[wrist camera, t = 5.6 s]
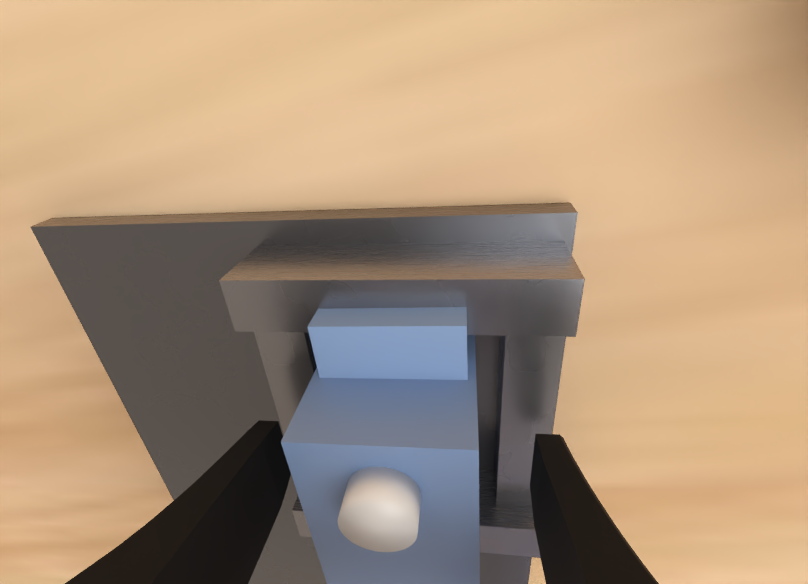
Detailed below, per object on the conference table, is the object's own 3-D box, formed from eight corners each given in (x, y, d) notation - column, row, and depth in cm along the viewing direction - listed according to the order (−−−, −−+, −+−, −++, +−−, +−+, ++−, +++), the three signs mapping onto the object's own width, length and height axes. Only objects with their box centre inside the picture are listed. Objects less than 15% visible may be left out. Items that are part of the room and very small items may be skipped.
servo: (476, 480, 16) (480, 677, 11) (373, 475, 16) (332, 658, 11) (473, 265, 12) (479, 424, 7) (334, 269, 12) (242, 417, 7)
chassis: (522, 596, 21) (530, 673, 18) (223, 565, 23) (193, 629, 20) (570, 203, 11) (602, 246, 9) (52, 218, 13) (-46, 256, 11)
